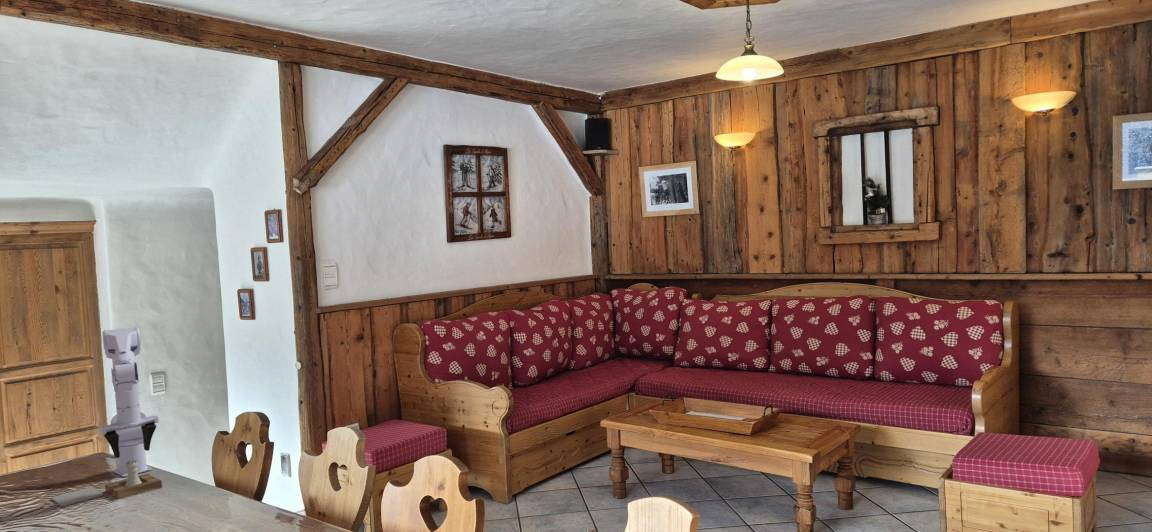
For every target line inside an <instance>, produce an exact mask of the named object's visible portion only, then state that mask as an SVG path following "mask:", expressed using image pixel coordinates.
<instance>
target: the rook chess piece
mask: <svg viewBox="0 0 1152 532" xmlns="http://www.w3.org/2000/svg"><path fill="white" fill-rule="evenodd" d="M126 463H127V464H126V466H125V467H126V468H127V472H128V476H127V477H126V479H127V482H126V484H125V487H130V486H133V485H137V484H141V483H142V481H140V479H139V477H138V476H139V473H137V470H138V469H137V466H138V463H137V461H135V462H134V461H132V462H131V461H129V463H128V462H126Z"/></svg>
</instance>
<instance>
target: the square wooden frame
mask: <svg viewBox="0 0 1152 532" xmlns="http://www.w3.org/2000/svg"><path fill="white" fill-rule="evenodd" d="M138 477H139V479H140V481H142V483H141V484H137V485H133V486H130V487H125V484H126V482H127V478H125V479H122V480H121V479H120V480H117V481H114V482H110V483H105V484H104V486H105V492H106V493H108V494H110V495H111V496H113V497H115V498H116V499H118V500H121V499H125V498H128V497H133V496H136V495H139V493H140V494H144V493H147V492H151V491H154V490H157V488H158V489H161V487H162V488H163V485H162V484H163V483H162V480H161V479H159V478H157V477H156V476H153V475H151V474H149V473H145V474H141V475H138ZM153 489H154V490H153ZM150 490H151V491H150ZM146 491H147V492H146ZM143 492H144V493H143ZM132 495H133V496H132Z"/></svg>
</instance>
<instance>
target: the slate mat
mask: <svg viewBox="0 0 1152 532" xmlns="http://www.w3.org/2000/svg"><path fill="white" fill-rule="evenodd" d="M103 496H104V493H103V492H102V491H99V490H98V489H97V488H95V487H93V486H90V487H87V488H82V489H79V490H75V491H70V492H66V493H62V494H59V495H56V496H51V497H50V499H51V500H52V501H53V502H54V503H56V504H57V505H58V506H60V507H62V508H63V507H65V506H69V505H73V504H77V503H81V502H84V501H87V500H88V501H89V500H92V499H97V498H100V497H103Z"/></svg>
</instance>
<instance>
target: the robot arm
mask: <svg viewBox="0 0 1152 532" xmlns="http://www.w3.org/2000/svg"><path fill="white" fill-rule="evenodd" d="M141 341H142V340H141V332H140V328H139V327H138V326H134V327H126V328H124V327H123V328H117V329H104V330H103V331H102V342H103V350H104V354H105V356H106V358H108V359H110V360H112V367H111V370H110V373H111V380H112V381H111V383H112V386H113V391H114V393H115V394H114V398H115V406H116V407H115V410H116V414H115V415H114V416H113V417H112V418H111V420H110V424H107V425H103V426H99V434H100V435H102V436H103V437H104V438H105V440H106V441H107V442H108V444H109V446H110V448H111V450H112V453H113V456H114V458H115V465H116V468H115V469H113V471H112V472H113V473H115V474H118V475H119V476H120V477H128V472H127V468H126V467H125V466H126V464H127V463H126V462H128V463H129V461H131V462H132V461H134V462H135V461H137V463H138V466H137V469H138V470H137V473H138V474H140V473H144V472H148V471H151V470H153V468H152V467H150V466H149V465H147V454H146V451H150V448H151V447H150V446H151V441H152V438H153V436H154V433H155V431H156V429H157V424H159V422H160V420H159V416H158V415H156V414H155V415H150V416H147V415H146V413H145V412H143V411H141V406H140V405H141V403H140V394H139V393H140V392H139V381H140V373H139V372H140V371H139V365H138V362H137V361H136V356H138V355H139V354H140V353H141ZM148 468H149V469H148Z"/></svg>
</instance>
